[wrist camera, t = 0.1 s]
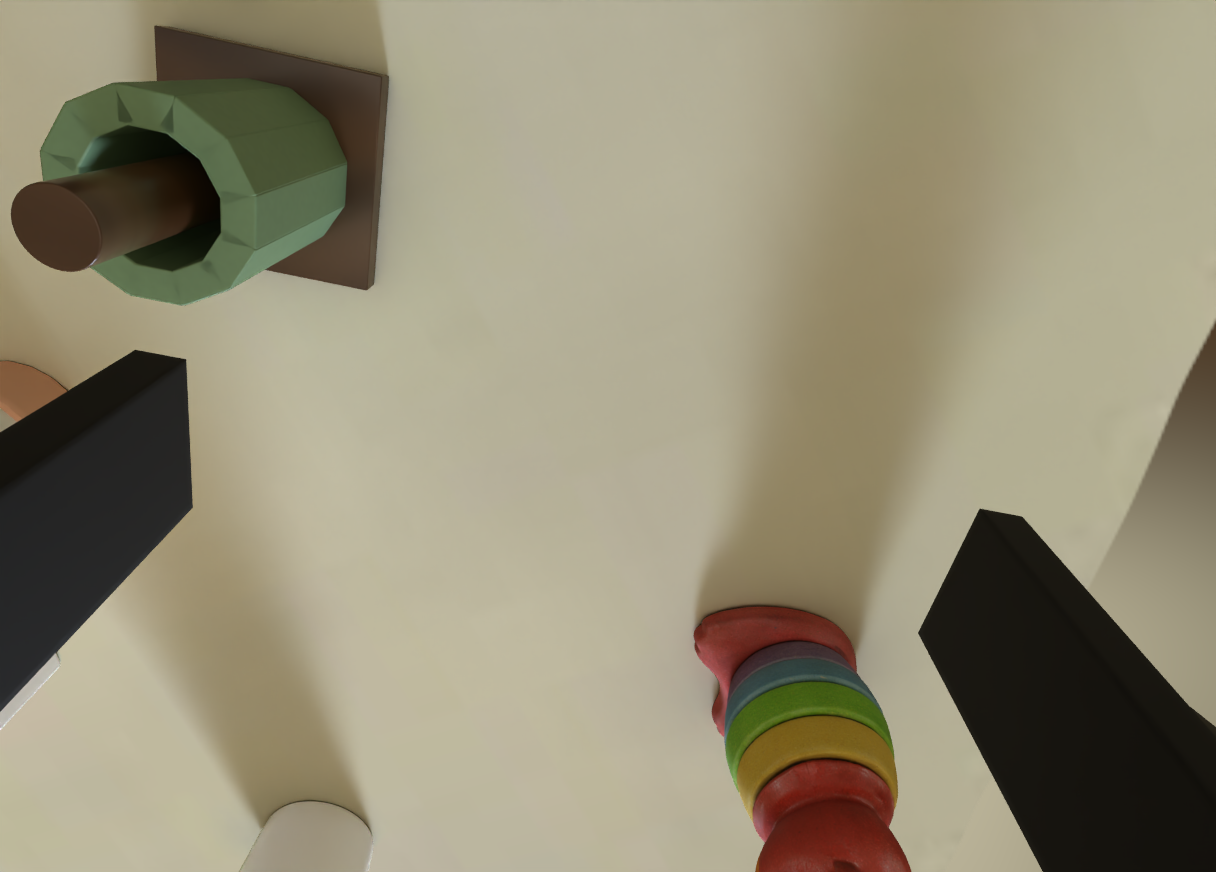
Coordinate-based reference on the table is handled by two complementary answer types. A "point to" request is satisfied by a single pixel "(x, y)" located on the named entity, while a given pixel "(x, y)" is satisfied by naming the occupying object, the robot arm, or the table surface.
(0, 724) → the jar
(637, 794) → the table surface
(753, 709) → the stacking bear
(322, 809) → the candle holder
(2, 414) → the pepper shaker
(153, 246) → the hollow cylinder
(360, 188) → the peg stand
